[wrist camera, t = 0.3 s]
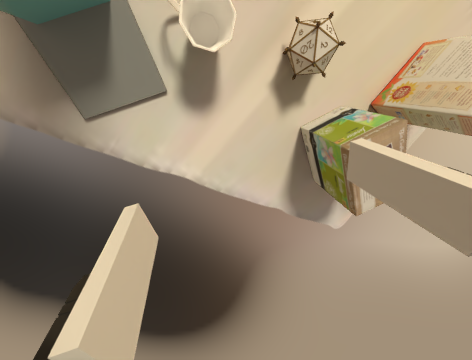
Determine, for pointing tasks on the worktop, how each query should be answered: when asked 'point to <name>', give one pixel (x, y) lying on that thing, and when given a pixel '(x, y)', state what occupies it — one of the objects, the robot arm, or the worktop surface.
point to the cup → (206, 22)
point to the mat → (97, 57)
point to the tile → (45, 8)
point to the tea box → (337, 150)
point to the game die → (312, 46)
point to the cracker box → (433, 87)
